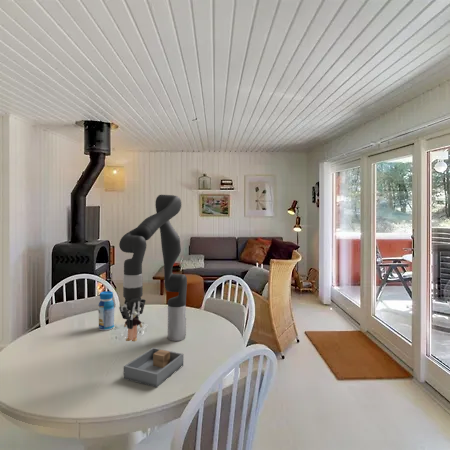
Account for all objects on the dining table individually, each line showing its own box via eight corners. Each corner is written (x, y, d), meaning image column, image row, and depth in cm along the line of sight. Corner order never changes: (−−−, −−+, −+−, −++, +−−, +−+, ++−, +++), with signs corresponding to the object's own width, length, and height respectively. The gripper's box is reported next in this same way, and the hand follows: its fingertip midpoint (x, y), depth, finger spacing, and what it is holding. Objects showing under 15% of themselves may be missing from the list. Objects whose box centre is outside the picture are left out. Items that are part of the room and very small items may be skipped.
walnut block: (160, 360, 146) (160, 349, 146) (169, 363, 144) (170, 351, 144) (153, 365, 142) (153, 353, 141) (163, 368, 140) (163, 356, 139)
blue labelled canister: (111, 331, 182) (111, 294, 182) (95, 330, 183) (95, 294, 182) (116, 325, 191) (116, 290, 190) (101, 325, 191) (101, 290, 190)
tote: (153, 358, 150) (153, 347, 150) (183, 365, 144) (183, 354, 144) (123, 378, 132) (123, 366, 132) (156, 387, 126) (156, 374, 126)
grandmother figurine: (122, 342, 134) (122, 310, 134) (124, 338, 138) (124, 307, 137) (141, 341, 135) (142, 310, 134) (143, 338, 139) (143, 307, 138)
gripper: (128, 289, 128) (128, 334, 128) (151, 282, 140) (151, 323, 141) (113, 287, 131) (113, 331, 132) (136, 280, 143) (136, 320, 144)
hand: (132, 326), depth 136 cm, fingers closed on grandmother figurine, 3 cm apart
